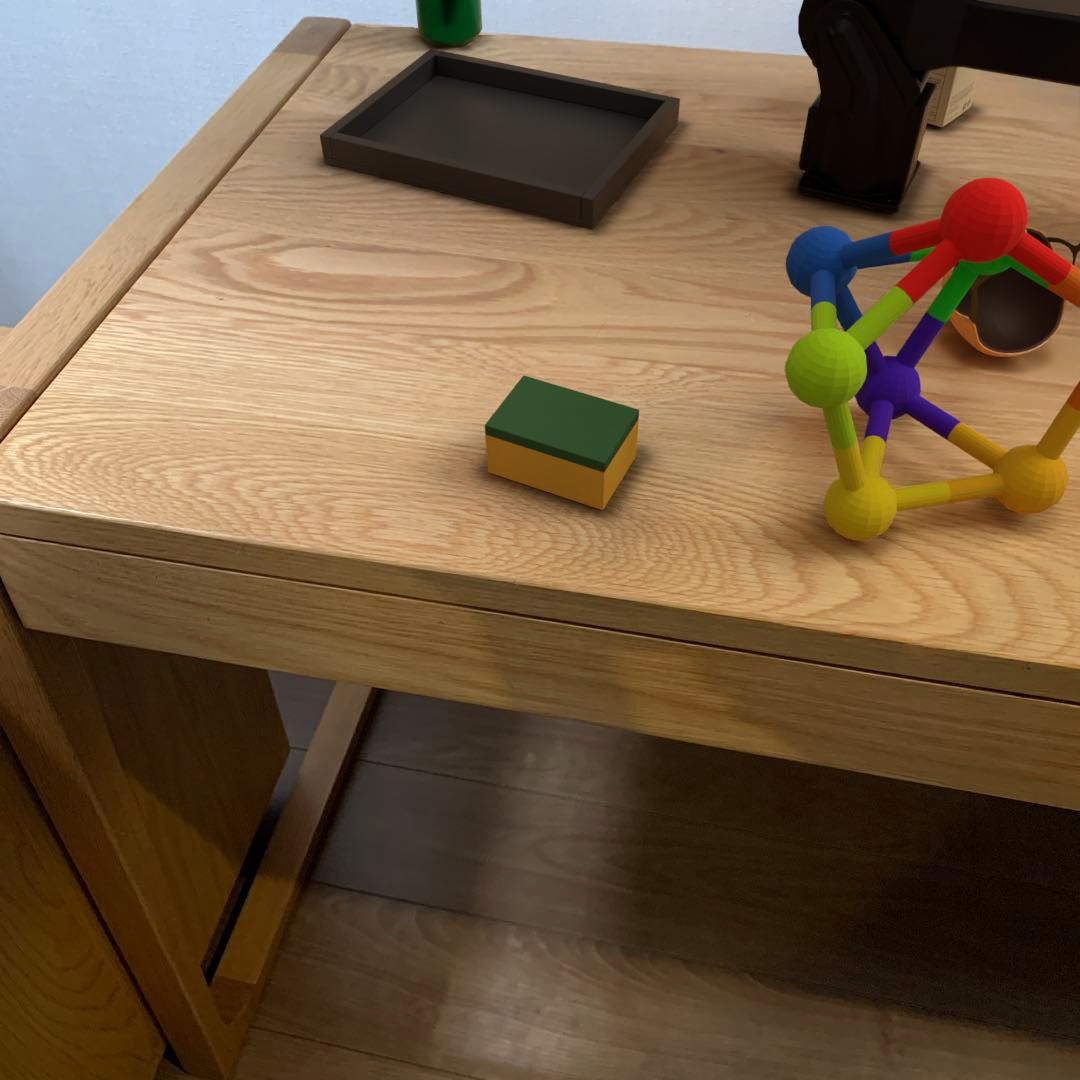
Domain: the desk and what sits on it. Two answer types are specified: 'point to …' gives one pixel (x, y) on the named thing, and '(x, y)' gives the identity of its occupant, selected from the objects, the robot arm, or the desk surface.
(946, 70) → the cosmetic box
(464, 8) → the soda can
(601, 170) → the tray
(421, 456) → the desk surface
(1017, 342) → the helmet
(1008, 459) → the educational toy
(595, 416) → the sponge
